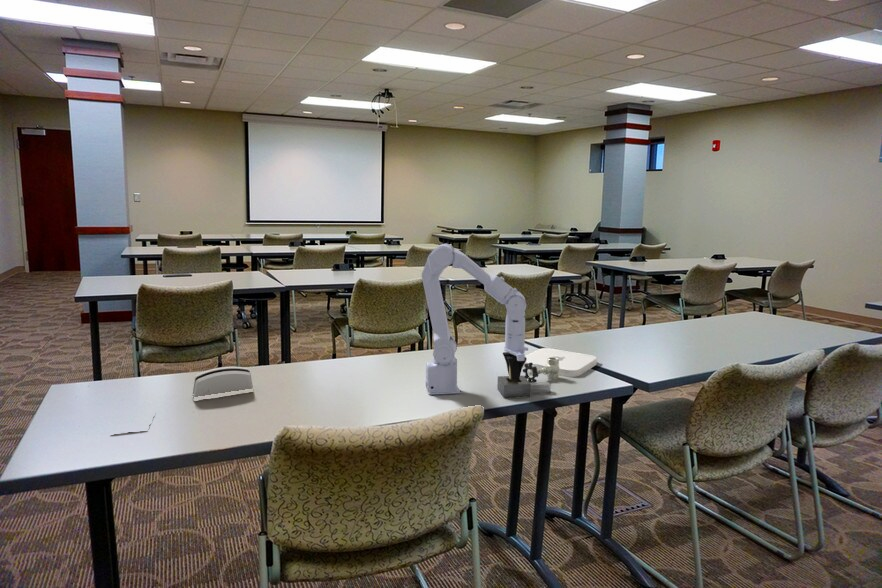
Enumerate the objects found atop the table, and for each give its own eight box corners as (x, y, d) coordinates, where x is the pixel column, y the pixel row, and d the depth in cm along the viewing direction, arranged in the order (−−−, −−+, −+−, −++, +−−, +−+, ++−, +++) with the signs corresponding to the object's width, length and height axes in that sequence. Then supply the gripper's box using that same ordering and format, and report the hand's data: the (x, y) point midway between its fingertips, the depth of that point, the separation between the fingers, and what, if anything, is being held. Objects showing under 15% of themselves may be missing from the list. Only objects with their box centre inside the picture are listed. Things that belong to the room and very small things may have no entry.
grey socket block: (503, 398, 161) (503, 384, 160) (497, 389, 169) (497, 376, 168) (553, 396, 163) (553, 382, 162) (544, 387, 171) (545, 374, 170)
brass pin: (510, 386, 163) (511, 366, 162) (507, 383, 166) (507, 363, 165) (519, 385, 164) (520, 365, 163) (516, 382, 167) (516, 363, 166)
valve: (550, 374, 184) (522, 380, 178) (551, 355, 183) (522, 360, 177) (564, 379, 178) (535, 386, 172) (565, 360, 177) (536, 365, 171)
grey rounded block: (251, 387, 170) (251, 360, 165) (254, 396, 166) (254, 369, 162) (191, 396, 162) (190, 368, 157) (193, 406, 158) (192, 378, 154)
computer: (515, 367, 192) (515, 360, 192) (542, 354, 210) (543, 347, 210) (575, 379, 180) (575, 371, 179) (599, 363, 197) (599, 356, 197)
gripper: (535, 338, 156) (534, 385, 158) (521, 327, 170) (520, 370, 172) (511, 339, 155) (510, 386, 157) (499, 328, 169) (498, 370, 171)
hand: (513, 377), depth 165 cm, fingers closed on brass pin, 3 cm apart
